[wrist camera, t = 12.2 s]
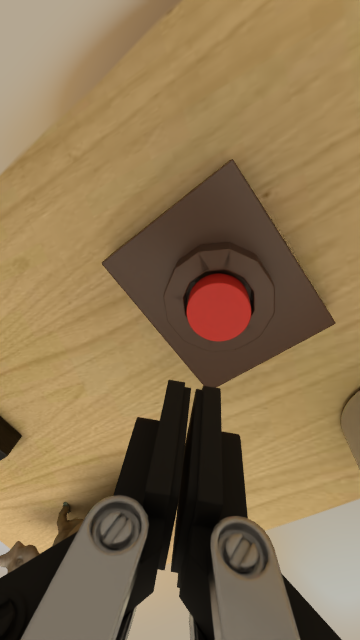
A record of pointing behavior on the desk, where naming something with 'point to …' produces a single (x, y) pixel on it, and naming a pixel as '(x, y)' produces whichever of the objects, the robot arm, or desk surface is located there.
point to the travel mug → (352, 425)
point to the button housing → (226, 258)
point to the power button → (218, 307)
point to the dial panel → (7, 438)
